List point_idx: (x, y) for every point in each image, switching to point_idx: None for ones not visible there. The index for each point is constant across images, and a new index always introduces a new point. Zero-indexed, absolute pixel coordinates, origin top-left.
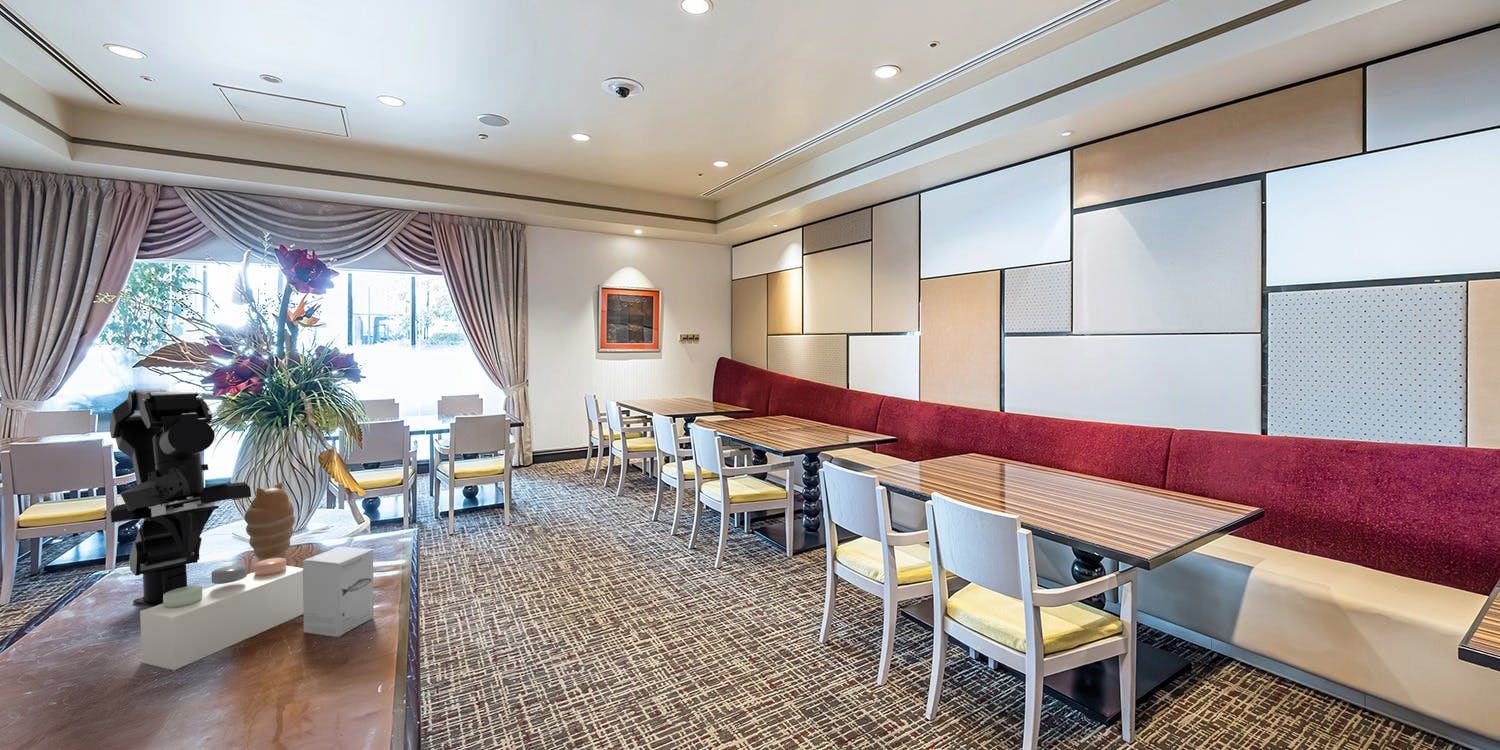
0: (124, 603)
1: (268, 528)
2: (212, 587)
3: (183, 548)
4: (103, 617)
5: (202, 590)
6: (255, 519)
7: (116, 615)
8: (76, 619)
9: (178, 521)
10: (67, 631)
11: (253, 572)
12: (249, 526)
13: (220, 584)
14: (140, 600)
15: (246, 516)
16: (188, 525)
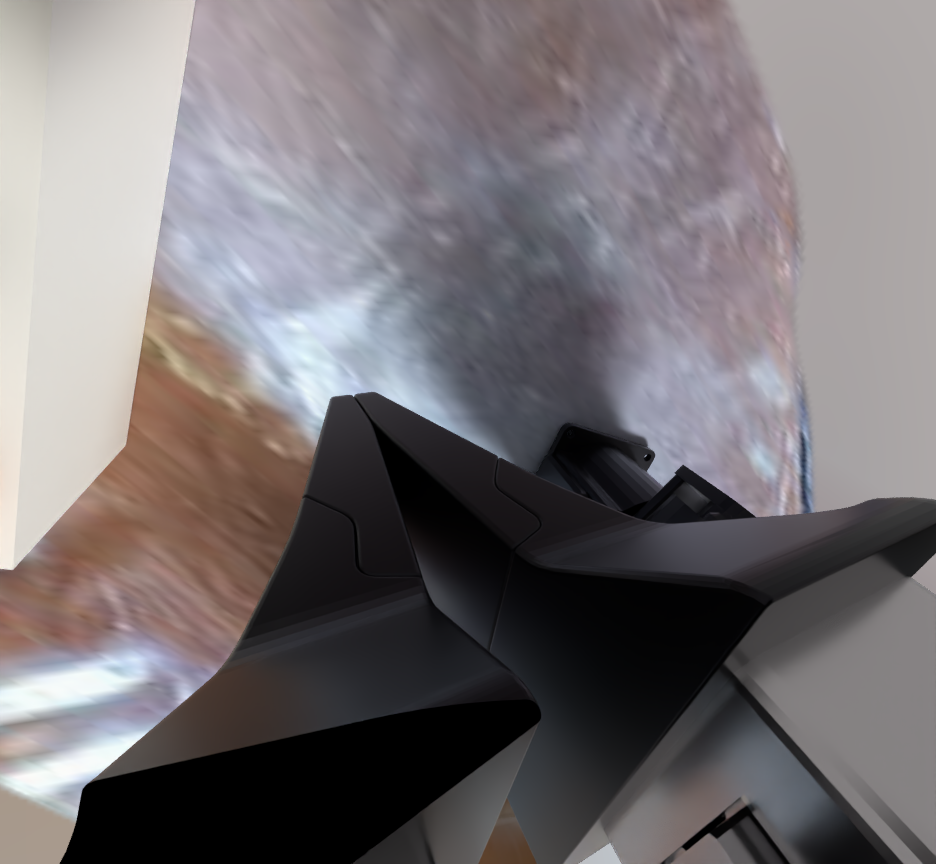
0: (671, 448)
1: None
2: (9, 177)
3: (370, 406)
4: (669, 360)
5: (25, 114)
6: (490, 854)
7: (643, 373)
8: (730, 348)
9: (522, 630)
10: (707, 264)
11: (19, 448)
12: (511, 809)
13: (18, 241)
14: (634, 452)
15: (532, 861)
16: (286, 566)
